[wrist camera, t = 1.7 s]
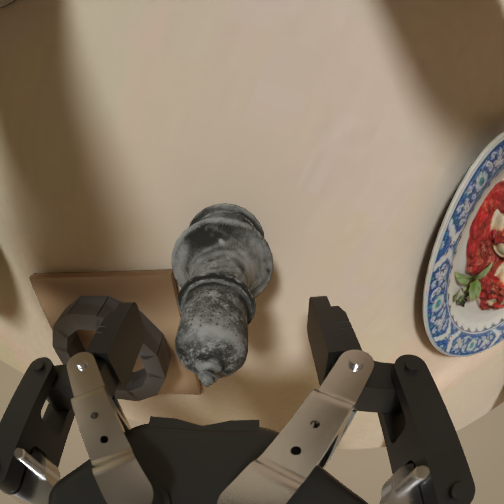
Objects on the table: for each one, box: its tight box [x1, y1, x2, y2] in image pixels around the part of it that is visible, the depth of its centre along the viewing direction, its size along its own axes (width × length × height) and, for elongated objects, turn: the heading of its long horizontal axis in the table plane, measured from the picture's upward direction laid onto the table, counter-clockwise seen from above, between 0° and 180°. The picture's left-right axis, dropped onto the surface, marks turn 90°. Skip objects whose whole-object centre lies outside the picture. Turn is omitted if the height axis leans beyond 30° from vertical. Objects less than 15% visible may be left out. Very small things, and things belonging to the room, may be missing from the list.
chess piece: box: [172, 204, 273, 387], centre depth 14 cm, size 6×6×12 cm
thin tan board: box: [29, 269, 201, 401], centre depth 22 cm, size 14×14×3 cm
